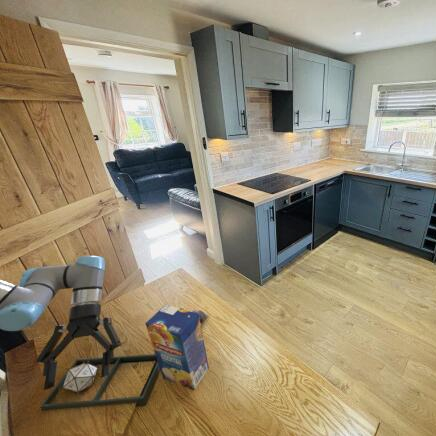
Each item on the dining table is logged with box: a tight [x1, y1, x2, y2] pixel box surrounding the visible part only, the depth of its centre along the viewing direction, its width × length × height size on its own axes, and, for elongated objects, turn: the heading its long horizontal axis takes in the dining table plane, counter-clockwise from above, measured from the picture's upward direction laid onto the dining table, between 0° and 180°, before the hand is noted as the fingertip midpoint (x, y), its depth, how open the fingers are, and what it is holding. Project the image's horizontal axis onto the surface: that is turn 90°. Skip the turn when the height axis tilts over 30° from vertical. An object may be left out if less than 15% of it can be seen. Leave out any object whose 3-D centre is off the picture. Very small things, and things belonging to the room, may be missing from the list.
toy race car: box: [179, 307, 207, 325], centre depth 93 cm, size 10×15×6 cm, turn 69°
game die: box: [59, 360, 101, 396], centre depth 71 cm, size 9×8×10 cm
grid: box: [39, 353, 161, 412], centre depth 73 cm, size 27×14×4 cm, turn 95°
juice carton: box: [145, 304, 210, 391], centre depth 72 cm, size 12×8×24 cm, turn 72°
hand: (77, 382), depth 68 cm, fingers open, 13 cm apart
